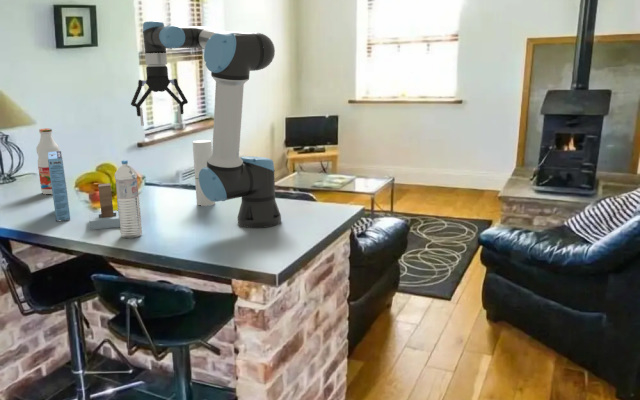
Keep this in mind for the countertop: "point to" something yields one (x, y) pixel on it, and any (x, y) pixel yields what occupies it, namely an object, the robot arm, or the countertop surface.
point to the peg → (106, 200)
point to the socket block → (103, 221)
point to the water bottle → (128, 201)
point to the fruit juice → (45, 158)
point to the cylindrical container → (201, 154)
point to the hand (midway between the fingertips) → (161, 124)
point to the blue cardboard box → (58, 185)
